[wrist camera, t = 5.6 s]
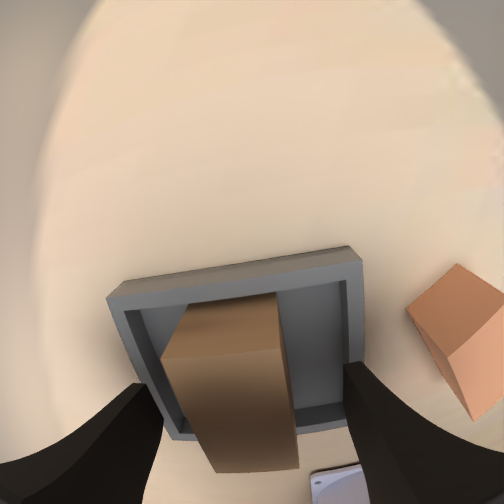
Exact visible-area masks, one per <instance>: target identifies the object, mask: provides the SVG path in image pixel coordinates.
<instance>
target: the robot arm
mask: <svg viewBox="0 0 504 504" xmlns="http://www.w3.org/2000/svg"><path fill="white" fill-rule="evenodd" d="M343 406H344V410H345V415H346V420H347V425H348V428H349V431H350V434H351V437H352V440H353V443H354V446H355V449H356V452H357V455H358V458H359V461H360V464H358V465H354V466H349V467H345V468H340V469H335V470H329V471H324V472H318V473H314V474H312V475H311V476H310V482H311V492H312V503H313V504H504V453H502V452H498V451H494V450H490V449H487V448H484V447H481V446H478V445H475V444H473V443H470V442H468V441H466V440H464V439H461V438H459V437H457V436H455V435H453V434H451V433H449V432H447V431H445V430H443V429H442V428H440V427H438V426H436V425H435V424H433V423H432V422H430V421H428V420H427V419H425V418H424V417H422V416H421V415H420V414H418V413H417V412H415V411H414V410H413V409H412V408H410V407H409V406H408V405H406V404H405V403H404V402H403V401H402V400H400V399H399V398H398V397H397V396H396V395H395V394H394V393H393V392H391V391H390V390H389V389H388V388H387V387H386V386H385V385H384V384H383V383H382V382H381V381H380V380H379V379H378V378H377V377H376V376H375V375H374V374H373V373H372V372H371V371H370V370H369V369H368V368H367V367H366V366H365V364H364V363H363V362H361V361H356V362H351V363H347V364H343ZM163 424H164V417H163V415H162V414H161V412H160V410H159V408H158V406H157V404H156V402H155V400H154V398H153V396H152V394H151V392H150V390H149V388H148V386H147V384H146V383H133V384H131V385H130V386H129V387H127V388H126V389H125V390H124V391H123V392H121V393H120V394H119V395H118V396H117V397H116V398H114V399H113V400H112V401H111V402H110V403H109V404H108V405H106V406H105V407H104V408H103V409H102V410H101V411H99V412H98V413H97V414H96V415H95V416H93V417H92V418H91V419H90V420H88V421H87V422H86V423H84V424H83V425H82V426H81V427H79V428H78V429H77V430H75V431H74V432H72V433H71V434H69V435H68V436H66V437H65V438H63V439H62V440H60V441H58V442H57V443H55V444H53V445H51V446H49V447H47V448H45V449H43V450H41V451H39V452H37V453H34V454H32V455H29V456H26V457H24V458H21V459H18V460H14V461H11V462H6V463H2V464H0V504H142V500H143V494H144V490H145V486H146V483H147V480H148V477H149V474H150V471H151V468H152V465H153V462H154V459H155V456H156V453H157V450H158V447H159V444H160V441H161V436H162V430H163Z"/></svg>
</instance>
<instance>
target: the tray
mask: <svg viewBox="0 0 504 504" xmlns="http://www.w3.org/2000/svg"><path fill="white" fill-rule="evenodd" d="M270 292H277V298H278V304H279V310H280V317H281V323H282V329H283V335H284V342H285V348H286V355H287V361H288V368H289V374H290V381H291V387H292V394H293V401H294V412H295V423H296V434H297V435H299V434H306V433H312V432H319V431H324V430H330V429H335V428H340V427H345V426H348V425H347V420H346V415H345V410H344V406H343V364H347V363H351V362H356V361H361V362H363V363H364V284H363V264H362V259H361V258H360V257H359V256H358V255H357V254H356V253H355V252H354V251H353V250H352V249H351V247H350V246H344V247H338V248H332V249H326V250H320V251H314V252H308V253H301V254H295V255H289V256H283V257H277V258H271V259H264V260H258V261H252V262H246V263H239V264H233V265H227V266H220V267H214V268H208V269H201V270H195V271H188V272H182V273H175V274H169V275H162V276H155V277H149V278H142V279H136V280H129V281H124V282H122V283H121V284H120V285H119V286H118V287H117V288H116V289H115V290H114V291H113V292H112V293H110V294H109V295H108V296H107V297H106V300H107V303H108V306H109V309H110V311H111V314H112V317H113V319H114V322H115V324H116V327H117V329H118V332H119V334H120V337H121V339H122V341H123V344H124V346H125V348H126V351H127V353H128V355H129V358H130V360H131V362H132V364H133V366H134V369H135V371H136V373H137V375H138V377H139V379H140V381H141V383H146V384H147V386H148V388H149V390H150V392H151V394H152V396H153V398H154V400H155V402H156V404H157V406H158V408H159V410H160V412H161V414H162V415H163V417H164V424H163V425H164V427H165V428H166V430H167V432H168V433H169V435H170V437H171V438H172V440H181V441H198V440H197V438H196V436H195V434H194V432H193V430H192V428H191V426H190V424H189V422H188V420H187V418H186V416H185V414H184V412H183V410H182V407H181V405H180V403H179V401H178V399H177V397H176V395H175V392H174V390H173V388H172V386H171V383H170V381H169V379H168V376H167V374H166V372H165V369H164V367H163V365H162V362H161V360H160V358H161V356H162V354H163V352H164V351H165V349H166V347H167V345H168V343H169V341H170V339H171V337H172V335H173V333H174V331H175V329H176V327H177V325H178V323H179V321H180V319H181V317H182V315H183V314H184V312H185V310H186V308H187V306H188V304H190V303H198V302H206V301H214V300H221V299H228V298H236V297H243V296H250V295H256V294H263V293H270Z"/></svg>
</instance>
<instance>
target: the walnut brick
mask: <svg viewBox="0 0 504 504" xmlns="http://www.w3.org/2000/svg"><path fill="white" fill-rule="evenodd" d="M160 360H161V362H162V365H163V367H164V369H165V372H166V374H167V376H168V379H169V381H170V383H171V386H172V388H173V390H174V392H175V395H176V397H177V399H178V401H179V403H180V405H181V407H182V410H183V412H184V414H185V416H186V418H187V420H188V422H189V424H190V426H191V428H192V430H193V432H194V434H195V436H196V438H197V440H198V441H199V443H200V445H201V447H202V449H203V451H204V453H205V454H206V456H207V458H208V460H209V462H210V463H211V465H212V467H213V469H214V470H215V472H216V473H251V472H268V471H279V470H289V469H298V468H299V457H298V445H297V434H296V423H295V412H294V401H293V394H292V387H291V381H290V374H289V368H288V361H287V355H286V348H285V342H284V335H283V329H282V323H281V317H280V310H279V304H278V298H277V292H270V293H263V294H256V295H250V296H243V297H236V298H228V299H221V300H214V301H206V302H198V303H190V304H188V306H187V308H186V310H185V312H184V314H183V315H182V317H181V319H180V321H179V323H178V325H177V327H176V329H175V331H174V333H173V335H172V337H171V339H170V341H169V343H168V345H167V347H166V349H165V351H164V352H163V354H162V356H161V358H160Z"/></svg>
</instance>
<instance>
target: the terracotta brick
mask: <svg viewBox="0 0 504 504" xmlns="http://www.w3.org/2000/svg"><path fill="white" fill-rule="evenodd" d="M406 310H407V311H408V313H409V315H410V317H411V318H412V320H413V322H414V323H415V325H416V327H417V329H418V330H419V332H420V334H421V336H422V338H423V339H424V341H425V343H426V345H427V347H428V349H429V350H430V352H431V354H432V356H433V358H434V360H435V362H436V364H437V366H438V368H439V370H440V372H441V374H442V375H443V377H444V379H445V380H446V381H447V383H448V384H449V386H450V387H451V389H452V390H453V392H454V393H455V395H456V396H457V398H458V399H459V400H460V402H461V403H462V405H463V406H464V408H465V410H466V411H467V413H468V414H469V416H470V417H471V419H472V420H473V422H474V421H475V420H477V419H478V418H479V417H480V416H482V415H483V414H484V413H485V412H486V411H488V410H489V409H490V408H491V407H492V406H493V405H494V404H496V403H497V402H498V401H499V400H500V399H501V398H502V397H503V396H504V293H502V292H501V291H499V290H498V289H496V288H495V287H493V286H492V285H490V284H489V283H487V282H486V281H484V280H483V279H481V278H479V277H478V276H476V275H475V274H473V273H472V272H470V271H468V270H467V269H465V268H464V267H462V266H460V265H459V264H456V265H455V266H454V267H453V268H452V269H451V270H449V271H448V272H447V273H446V274H445V275H444V276H443V277H442V278H441V279H440V280H438V281H437V282H436V283H435V284H434V285H433V286H432V287H431V288H429V289H428V290H427V291H426V292H425V293H424V294H422V295H421V296H420V297H419V298H418V299H416V300H415V301H414V302H413V303H412V304H410V305H409V306H408V307H407V308H406Z"/></svg>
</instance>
